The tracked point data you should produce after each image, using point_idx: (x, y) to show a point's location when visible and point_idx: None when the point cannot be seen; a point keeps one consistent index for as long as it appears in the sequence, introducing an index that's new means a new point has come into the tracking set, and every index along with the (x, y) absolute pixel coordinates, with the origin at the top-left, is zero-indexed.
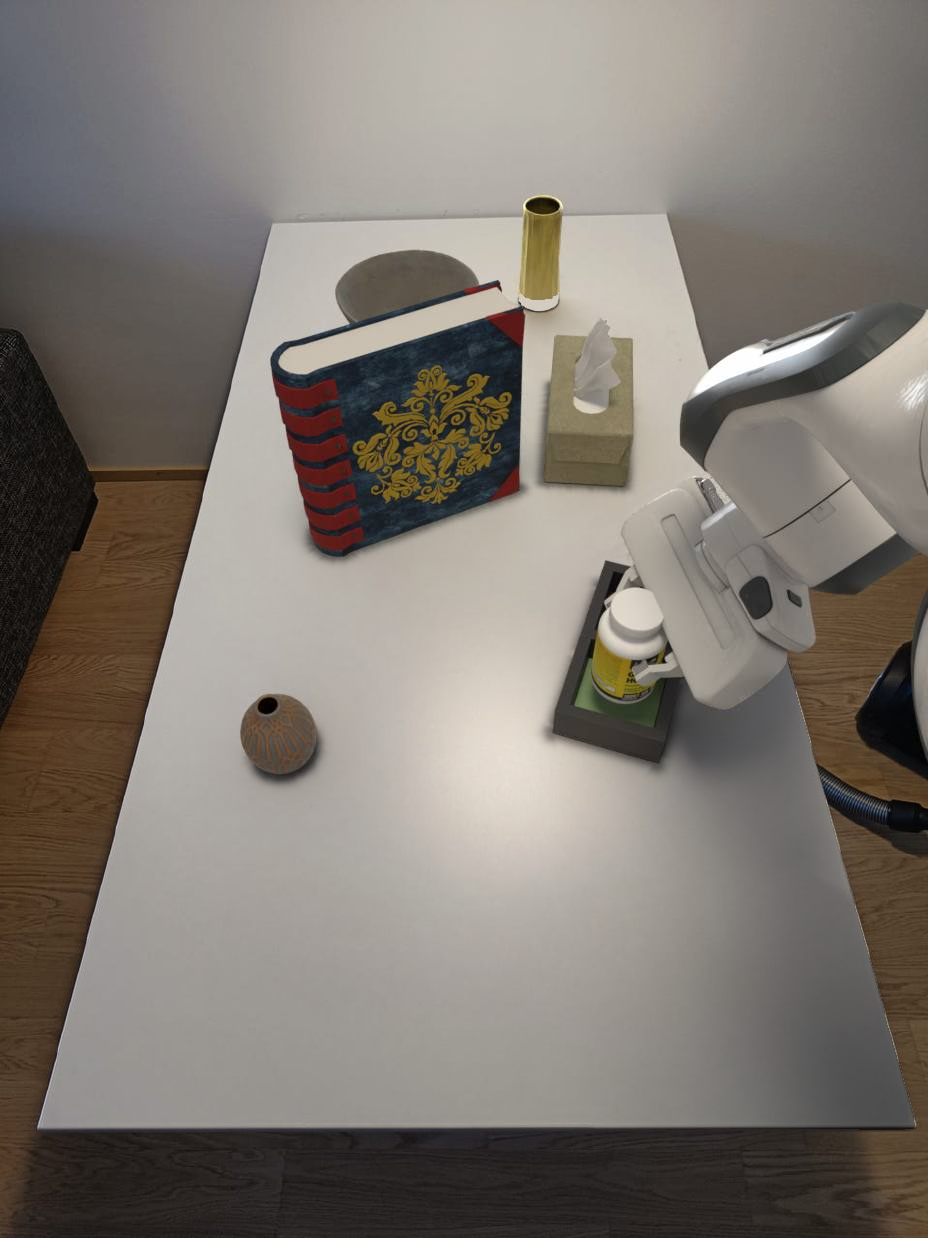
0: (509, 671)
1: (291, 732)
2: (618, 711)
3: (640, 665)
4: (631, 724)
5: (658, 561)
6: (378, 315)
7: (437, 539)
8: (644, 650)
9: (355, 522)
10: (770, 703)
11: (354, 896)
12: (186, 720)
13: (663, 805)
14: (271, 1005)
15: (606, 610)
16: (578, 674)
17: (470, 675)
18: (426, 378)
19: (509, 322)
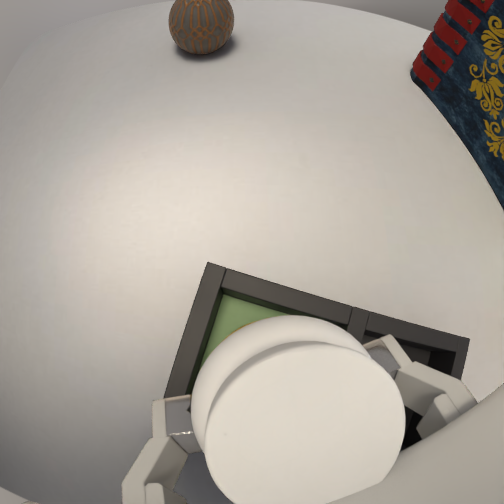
0: (307, 220)
1: (181, 9)
2: None
3: (181, 417)
4: (184, 380)
5: (478, 485)
6: None
7: (457, 156)
8: (200, 437)
9: (441, 71)
10: None
11: (72, 107)
12: (236, 5)
13: (117, 401)
14: (32, 87)
15: (348, 337)
16: (278, 302)
17: (297, 174)
18: None
19: None
